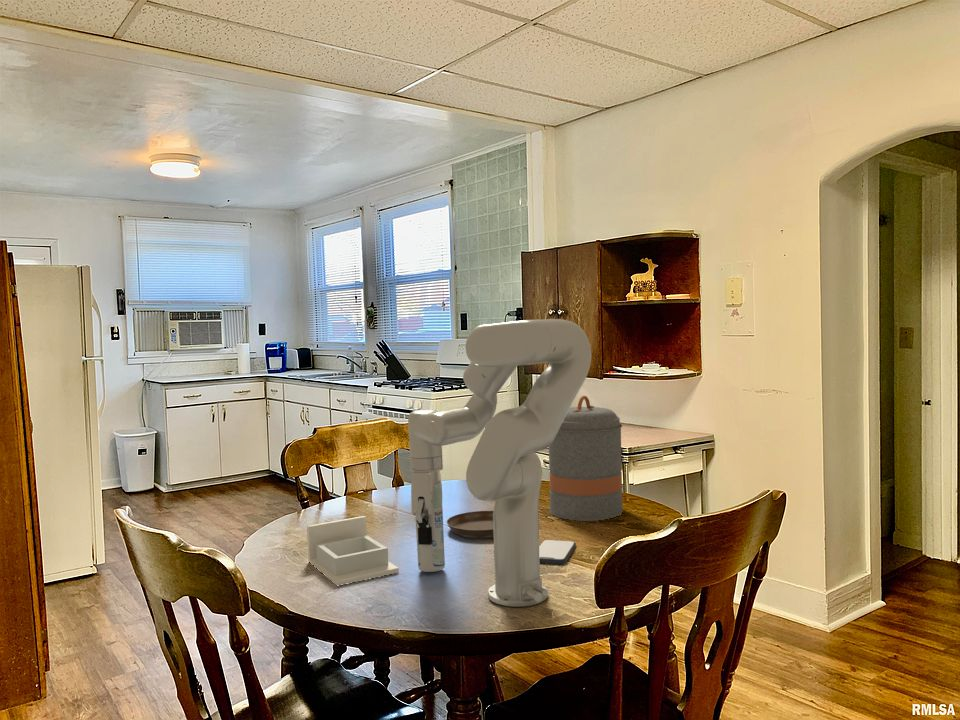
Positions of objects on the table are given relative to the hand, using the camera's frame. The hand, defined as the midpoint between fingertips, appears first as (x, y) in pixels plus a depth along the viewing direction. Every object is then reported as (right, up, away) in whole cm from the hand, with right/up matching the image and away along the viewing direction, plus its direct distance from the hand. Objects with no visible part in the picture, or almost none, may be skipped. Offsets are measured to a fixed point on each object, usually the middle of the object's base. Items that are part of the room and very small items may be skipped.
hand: (430, 539), depth 170 cm
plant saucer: (+13, -6, +33) cm, 36 cm away
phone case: (+30, -7, +11) cm, 33 cm away
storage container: (+44, -4, +50) cm, 66 cm away
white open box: (-19, -8, +5) cm, 21 cm away
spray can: (0, -7, 0) cm, 7 cm away
